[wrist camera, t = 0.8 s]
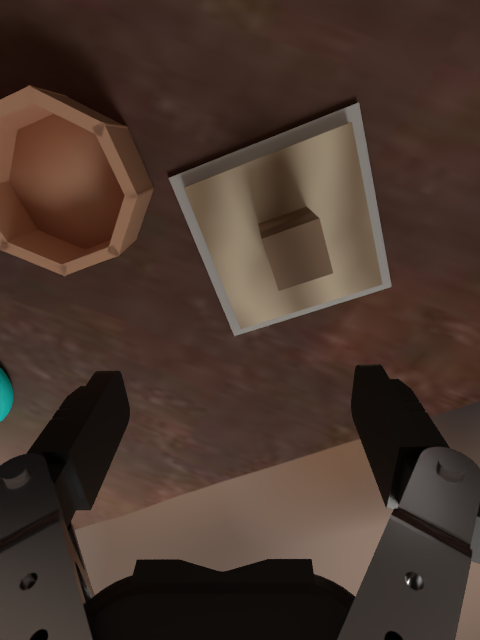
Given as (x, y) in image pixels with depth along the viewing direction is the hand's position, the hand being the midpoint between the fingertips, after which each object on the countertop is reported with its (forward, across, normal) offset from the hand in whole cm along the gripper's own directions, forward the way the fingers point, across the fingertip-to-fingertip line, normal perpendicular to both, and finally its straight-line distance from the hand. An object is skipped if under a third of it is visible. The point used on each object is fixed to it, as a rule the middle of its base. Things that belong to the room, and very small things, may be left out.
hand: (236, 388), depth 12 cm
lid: (+20, -4, 0) cm, 20 cm away
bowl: (+20, +13, -5) cm, 24 cm away
